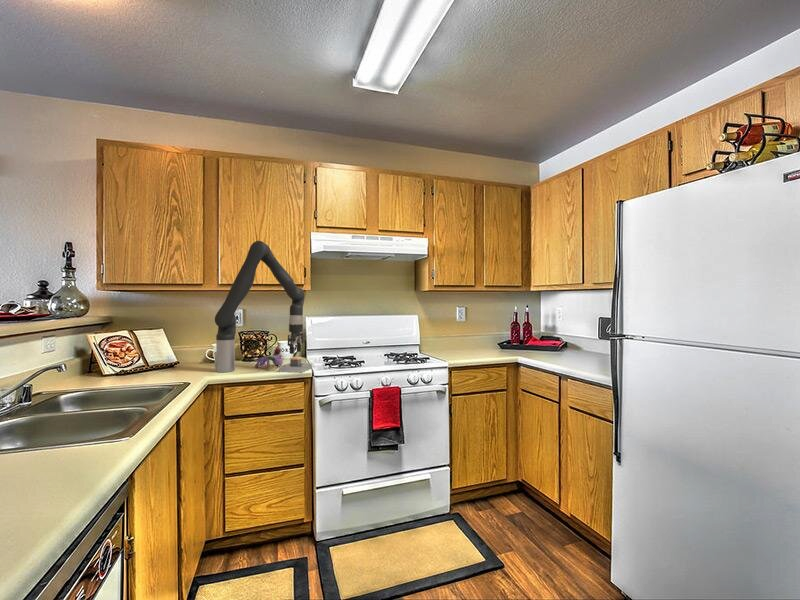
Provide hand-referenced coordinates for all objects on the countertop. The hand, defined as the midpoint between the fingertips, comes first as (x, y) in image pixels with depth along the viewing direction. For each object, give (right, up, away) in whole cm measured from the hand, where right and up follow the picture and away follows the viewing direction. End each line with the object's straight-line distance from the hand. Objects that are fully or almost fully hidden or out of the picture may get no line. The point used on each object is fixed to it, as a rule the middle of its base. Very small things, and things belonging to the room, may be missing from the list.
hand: (295, 352), depth 213 cm
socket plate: (0, -10, 0) cm, 10 cm away
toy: (-17, -10, +12) cm, 23 cm away
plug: (0, -10, 0) cm, 10 cm away
